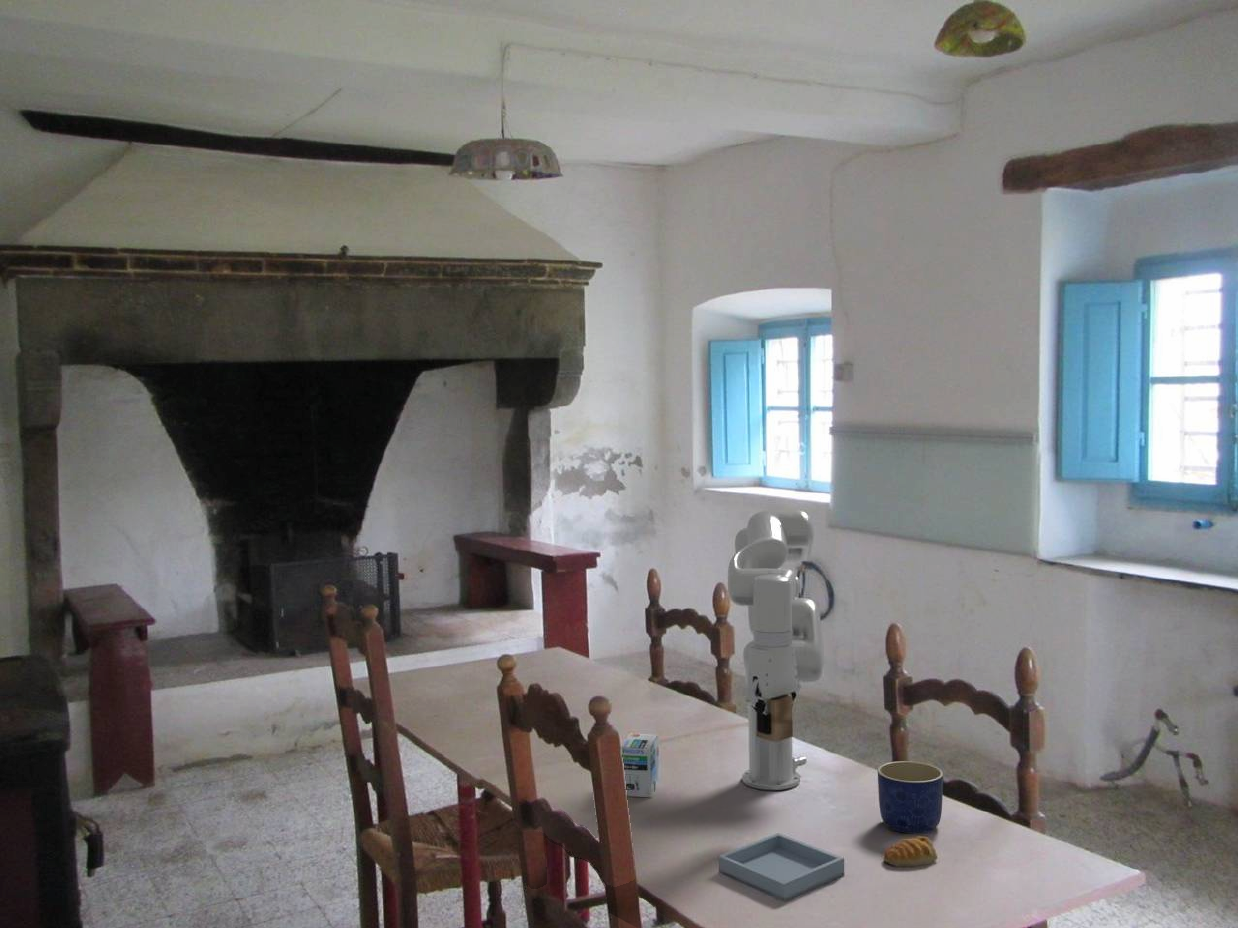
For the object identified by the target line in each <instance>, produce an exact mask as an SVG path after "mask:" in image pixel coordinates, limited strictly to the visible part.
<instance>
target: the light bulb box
mask: <svg viewBox="0 0 1238 928" xmlns="http://www.w3.org/2000/svg"><path fill="white" fill-rule="evenodd" d="M659 742H660V740H659V735H658V734H651V733H650V734H649V733H647V734H646V733H634V732H633V733H629V734H628V735H627V737H626V739H625V741H623V743H622V745H621V747H620V750H621V749H622V757H623V763H624V771H625V781H626V790H627V795H628V796H627V797H637V798H652V797H653V795H654V793H655V792H656V790H657V788H658V786H659V784H660V747H659V745H660V744H659Z"/></svg>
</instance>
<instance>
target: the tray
mask: <svg viewBox="0 0 1238 928" xmlns="http://www.w3.org/2000/svg"><path fill="white" fill-rule="evenodd" d="M717 858H718V874H721V875H723V876H726V877H727V878H730V879H732V880H733V881H737V882H739V883H741V884H744V885H746V886H747V887H750V888H752V889H755V890H756V891H759V892H762V893H764V894H766V895H768V896H770V897H773V898H775V899H777V900H780V901H782V902H783V903H784V902H787V901H789V900H791V899H794V898H796V897H798V896H800V895H803V894H806V893H807V892H809V891H811V890H814V889H816V888H818V887H821V886H823V885H825V884H828V883H829V882H832V881H834V880H836V879H838V878H841V877H843V876H845V858H844V857H842V856H839V855H837V854H834V853H832V852H829V851H826V850H823V849H821V848H818V847H815V846H812V845H811V844H808V843H806V842H803V841H799V840H797V839H794V838H793V837H790V836H787V835H785V834H781V833H779V832H777V833H775V834H772V835H769V836H767V837H764V838H761V839H759V840H757V841H754V842H751V843H748V844H746V845H744V846H741V847H739V848H735V849H733V850H731V851H728V852H726V853H723V854H720V855H718V857H717Z"/></svg>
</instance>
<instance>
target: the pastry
mask: <svg viewBox="0 0 1238 928" xmlns="http://www.w3.org/2000/svg"><path fill="white" fill-rule="evenodd" d="M883 854H884V855H883V856H884V857H883V861H884V862H886V863H887V864H890V865H892V866H895V867H898V868H901V867H918V866H924V865H928V864H929V865H930V864H932V863H935V862H936V860H938V853H937V851H936V848H935V847H934V845H933V842H932V840H930V839H929V838H928V837H926V836H920V835H917V836H916V837H915V838H913V837H911V838H903V839H901V840H899V841H898V842H897V843H895V844H893V845H891V846H890V847H887V849H886V850H885V851H884V853H883Z"/></svg>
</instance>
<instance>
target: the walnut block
mask: <svg viewBox="0 0 1238 928" xmlns="http://www.w3.org/2000/svg"><path fill="white" fill-rule="evenodd" d="M756 697H757V696H756ZM762 705H763V706H764V701H763V700H762ZM768 714H771V734H769V735H767V734H764V733H760V732H758V731H757V712H756V737H760V738H763V739H766V740H770V741H773V742H778V741H781V740H784V739H787V738H790V737H792V738H793V737H794V735H793V734H794V733H793V729H794V728H793V727H794V725H793V721H794V720H793V707H792V696H788V695H787V696H786V695H783V696H780V697H776V698H772V699H771V700H770V708H769V713H768Z"/></svg>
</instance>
